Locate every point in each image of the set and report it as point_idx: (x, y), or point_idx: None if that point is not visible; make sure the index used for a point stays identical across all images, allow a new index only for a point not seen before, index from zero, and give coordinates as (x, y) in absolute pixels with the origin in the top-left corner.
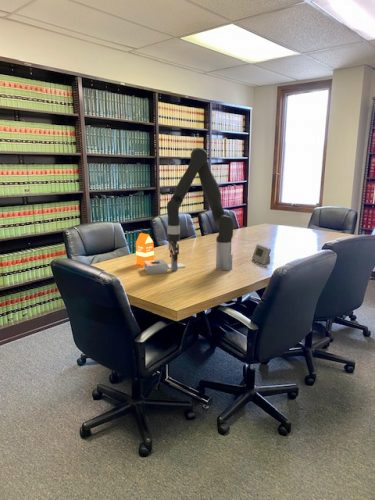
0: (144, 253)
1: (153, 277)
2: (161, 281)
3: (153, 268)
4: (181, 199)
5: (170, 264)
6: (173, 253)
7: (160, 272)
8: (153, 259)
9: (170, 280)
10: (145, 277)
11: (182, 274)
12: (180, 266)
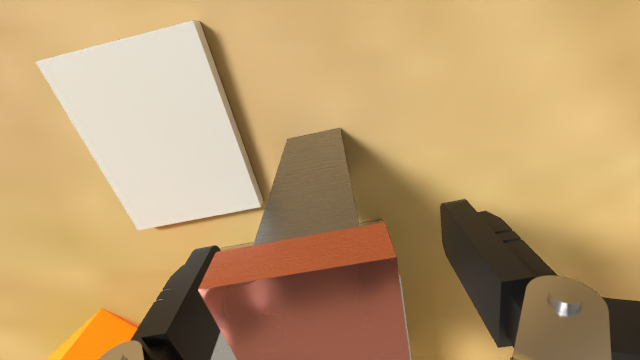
0: None
1: None
2: (620, 266)
3: None
4: None
5: (134, 194)
6: (404, 351)
7: None
8: (78, 348)
9: (637, 204)
10: (470, 349)
11: (497, 78)
12: (209, 86)
